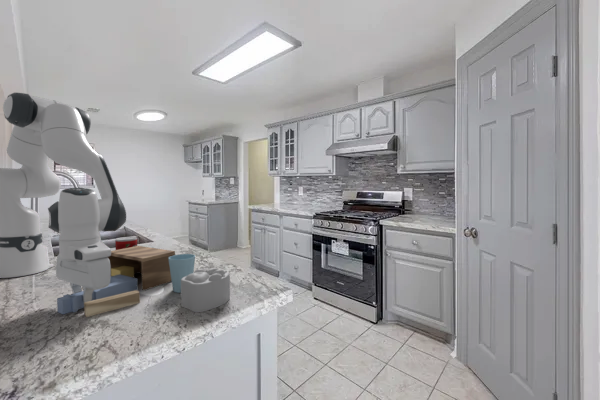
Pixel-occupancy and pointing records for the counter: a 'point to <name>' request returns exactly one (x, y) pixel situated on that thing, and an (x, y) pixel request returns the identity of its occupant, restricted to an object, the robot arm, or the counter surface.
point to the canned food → (125, 242)
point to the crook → (97, 293)
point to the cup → (180, 269)
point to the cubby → (145, 264)
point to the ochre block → (123, 271)
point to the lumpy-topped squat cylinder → (205, 289)
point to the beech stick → (111, 303)
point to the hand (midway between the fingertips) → (82, 299)
